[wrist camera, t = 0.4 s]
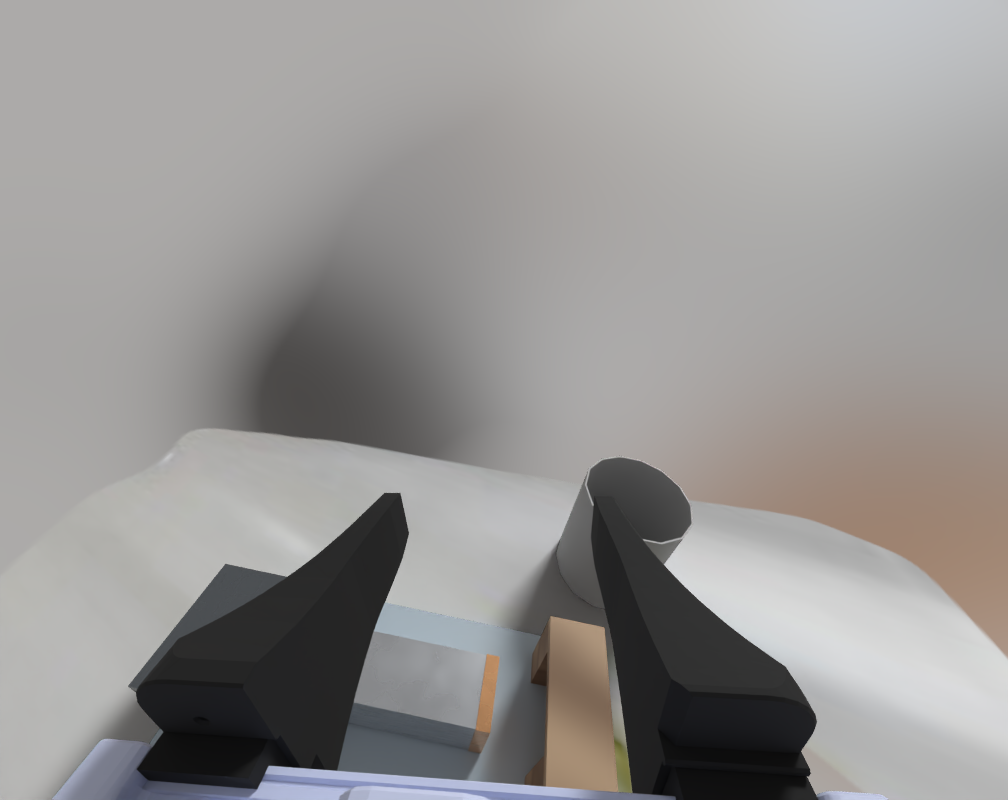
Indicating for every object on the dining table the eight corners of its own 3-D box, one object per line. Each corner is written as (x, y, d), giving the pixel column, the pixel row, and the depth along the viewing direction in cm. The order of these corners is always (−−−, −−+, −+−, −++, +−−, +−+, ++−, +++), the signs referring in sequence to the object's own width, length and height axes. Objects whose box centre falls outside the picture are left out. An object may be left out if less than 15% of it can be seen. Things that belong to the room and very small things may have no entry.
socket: (583, 836, 20) (620, 821, 17) (522, 821, 21) (545, 805, 17) (578, 663, 27) (604, 627, 24) (532, 653, 27) (550, 615, 24)
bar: (480, 753, 22) (490, 733, 20) (216, 695, 23) (189, 667, 20) (490, 683, 25) (499, 656, 23) (256, 632, 26) (237, 600, 23)
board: (581, 875, 20) (584, 875, 19) (134, 774, 20) (129, 772, 20) (576, 646, 29) (578, 643, 28) (265, 580, 29) (263, 576, 29)
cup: (555, 598, 31) (587, 529, 26) (556, 518, 38) (582, 448, 32) (653, 618, 31) (708, 553, 25) (637, 534, 38) (678, 467, 32)
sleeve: (305, 750, 22) (284, 720, 18) (174, 720, 22) (128, 686, 18) (356, 630, 27) (347, 589, 23) (249, 607, 27) (225, 563, 24)
